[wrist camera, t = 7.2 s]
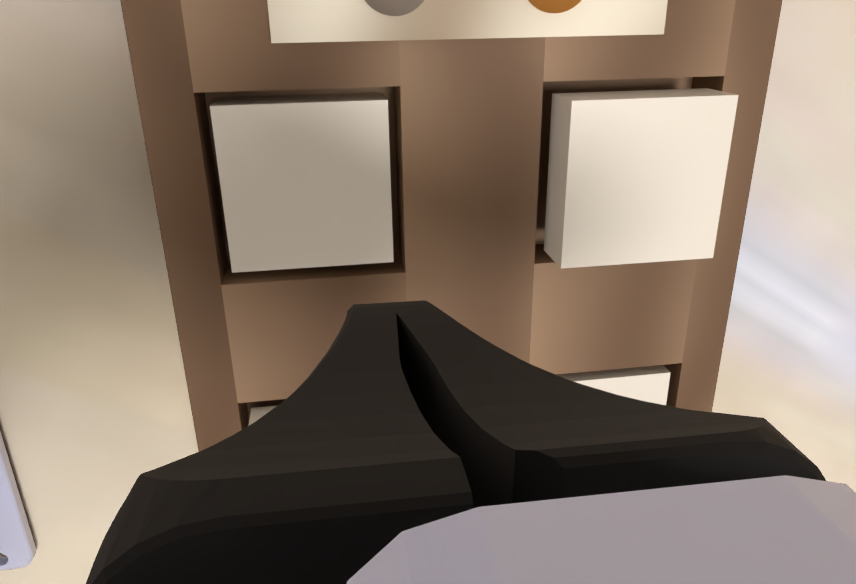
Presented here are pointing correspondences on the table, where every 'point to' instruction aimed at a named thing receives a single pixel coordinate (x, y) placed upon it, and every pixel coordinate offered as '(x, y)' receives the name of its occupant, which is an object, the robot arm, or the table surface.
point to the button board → (440, 178)
